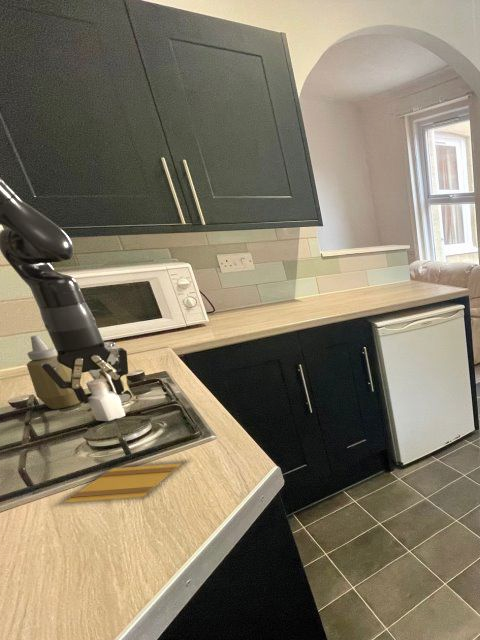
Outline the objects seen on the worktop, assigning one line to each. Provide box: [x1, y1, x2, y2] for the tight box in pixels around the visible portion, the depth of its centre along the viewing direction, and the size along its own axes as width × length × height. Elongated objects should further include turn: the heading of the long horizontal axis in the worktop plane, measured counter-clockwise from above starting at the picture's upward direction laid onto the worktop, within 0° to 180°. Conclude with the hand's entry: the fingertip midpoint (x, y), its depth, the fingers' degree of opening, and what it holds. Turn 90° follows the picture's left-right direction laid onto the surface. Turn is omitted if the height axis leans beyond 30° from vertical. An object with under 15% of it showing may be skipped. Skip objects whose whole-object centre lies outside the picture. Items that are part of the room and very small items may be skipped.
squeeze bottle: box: [26, 335, 83, 410], centre depth 103 cm, size 8×8×18 cm
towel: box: [64, 463, 181, 504], centre depth 73 cm, size 12×10×1 cm
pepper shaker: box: [86, 379, 126, 422], centre depth 96 cm, size 4×4×10 cm
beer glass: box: [88, 341, 137, 406], centre depth 105 cm, size 7×7×15 cm
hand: (102, 397), depth 96 cm, fingers open, 5 cm apart
